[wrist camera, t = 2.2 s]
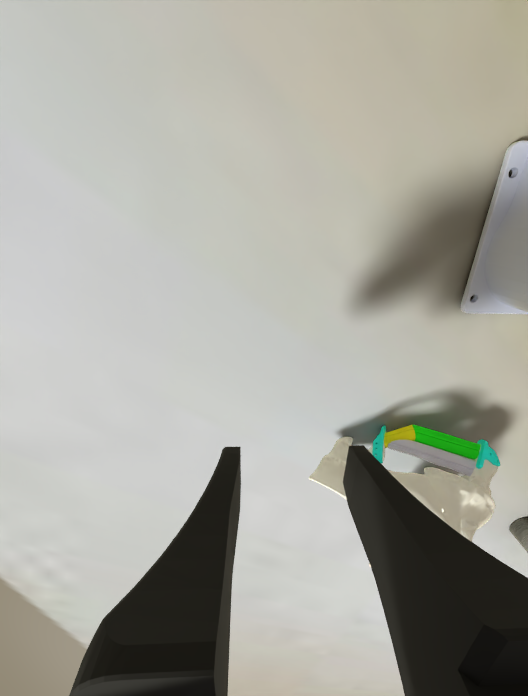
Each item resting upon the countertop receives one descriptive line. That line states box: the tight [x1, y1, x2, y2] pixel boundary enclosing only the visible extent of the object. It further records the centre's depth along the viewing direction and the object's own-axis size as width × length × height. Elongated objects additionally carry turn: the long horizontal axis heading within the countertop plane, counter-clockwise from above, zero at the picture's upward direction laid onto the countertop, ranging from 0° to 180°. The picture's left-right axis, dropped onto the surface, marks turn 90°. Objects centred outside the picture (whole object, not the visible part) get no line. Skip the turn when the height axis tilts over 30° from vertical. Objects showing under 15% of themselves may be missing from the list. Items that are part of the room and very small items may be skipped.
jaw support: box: [309, 424, 500, 567], centre depth 22 cm, size 12×9×10 cm
